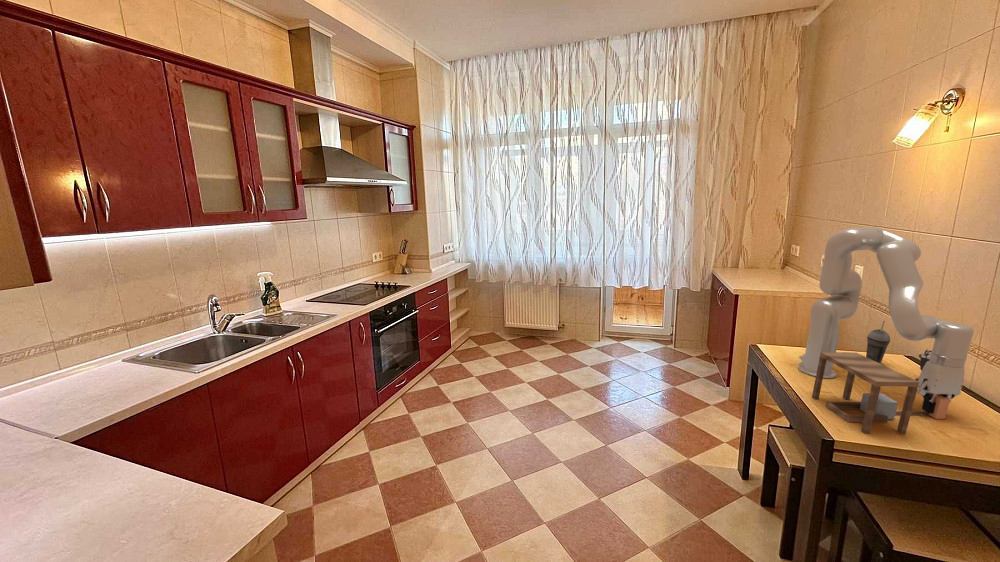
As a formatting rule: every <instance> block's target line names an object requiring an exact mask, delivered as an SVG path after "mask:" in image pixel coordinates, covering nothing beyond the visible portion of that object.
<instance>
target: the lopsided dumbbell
mask: <svg viewBox="0 0 1000 562" xmlns="http://www.w3.org/2000/svg"><path fill="white" fill-rule="evenodd" d="M869 394H870V392H865V393H864V392H863V393H862V396H861V401H860V402H861V405H860V409H859V410H860V411H861V412H864V413H865V412H866V407H867V403H868V399H869ZM929 395H930V396H931V395H932V394H930V393H929ZM923 402H924V398H923V397H922V402H921V406H920V411H916V410H915V411H913V410H912V412H911V415H928V416H930V417H931V418H933V419H936V420H940V419H943V420H944V419H945V420H946V417H947V412H948V408H949V407H950V403H951V402H950V399H948V398H946V397H944V396H942V395H940V394H937V396H936V399H935V401H934V402H935V403H936V405H935V409H934V412H933V414H930V413H929V412H927V411H925V410H923V409H922V406H923ZM949 402H950V403H949ZM898 404H899V402H898V401H896V400H894V399H893V398H891V397H888V396H887V395H885V394H883V393H880V392H879V396H878V400H877V404H876V409H875V413H874V415H886V416H887V417H888V420H894V419H895V415H898V414H899V415H901V413H902V410H898V411H897V408H898Z"/></svg>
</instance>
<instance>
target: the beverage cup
mask: <svg viewBox="0 0 1000 562" xmlns="http://www.w3.org/2000/svg"><path fill="white" fill-rule="evenodd" d="M885 322H886V321H885V320H883V321H882V323H881V327H880V329H873V330H871V331H870V332H869V333H868V334H867V337H866V342H867V344H866V355H865V357H867V358H869V359H871V360H873V361H875V362H878V363H880V364H882V362H883V359H884V356H885V354H886V350H887V348H888V346H889V344H890V342H891V336H890V334H889V333H888V332H887V331H885V330H883V328H884V326H885Z"/></svg>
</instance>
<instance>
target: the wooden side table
mask: <svg viewBox="0 0 1000 562" xmlns="http://www.w3.org/2000/svg"><path fill="white" fill-rule="evenodd" d="M826 360H828V361H830V362H831V363H833V364H834V365H835V366H837V367H839V368H841V369H843V370H844V371H846V372H847V376H846V381H845V384H844V388H843V393H842V399H844V400H846V401H826V402H825V405H824V406H825V408H827V410H829V411H831V412H832V413H833V414H834V415H836V416H838V417H839V418H841V419H842V420H844V421H846V422H847V423H862V425H861V429H860V431H861V433H863V434H864V435H865V434H866V435H870V434H871V430H872V425H873V423H888V420H889V419H888V417H887V416H886V415H874V413H875V409H876V404H877V400H878V396H879V393H880V391H881V387H899V388H900V387H907V388H906V393H905V394H906V395H905V398H904V401H903V406H902V410H901V411H902V413H901V414H900V416H899V421H898V426H897V429H896V432H897V433H898V432H899V433H898V434H900V435H906V434H907V431H908V426H909V422H910V419H911V415H912V414H911V412H912V411H913V407H914V403H915V400H916V396H917V389H918V386H919V382H918V381H916V379H913V378H911V377H909V376H907V375H906V374H903V373H901V372H898V371H897V370H895V369H892V368H891V367H888V366H886V365H884V364H882V363H881V364H880V363H878V362H875V361H873V360H871V359H869V358H867V357H866V355H862V354H860V353H858V352H849V351H847V352H843V351H842V352H840V351H839V352H838V351H836V352H820V358H819V363H818V368H817V373H816V377H815V379H814V384H813V390H812V395H811V398H812V399H813V400H819V398H820V394H821V389H822V384H823V380H824V378H823V375H824V370H825V365H826ZM855 377H858V378H859V379H862V380H863V381H865V382H867V383H869V384H871V385H870V391H869V393H870V394H869V399H868V403H867V407H866V412H864V414H848V413H847V412H845V411H843V410H845V409H848V410H853V409H854V410H860V405H861V401H850V399H851V396H852V391H853V387H854V381H855ZM848 400H849V401H848Z"/></svg>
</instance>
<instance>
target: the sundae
mask: <svg viewBox="0 0 1000 562" xmlns="http://www.w3.org/2000/svg"><path fill="white" fill-rule="evenodd" d="M931 353H932V350H928V349H926V350H924V353H923V354H922V353H921V354H918V357H919V358H920V360H919V361H920V363H919V365H920V366H919V367H920V370H921V371H922V369H923V367H924V365H925V364H926V362H927V361H929V360H930V356H931ZM921 371H920V372H921ZM918 379H919V377H918V378H915V380H916V381H918Z"/></svg>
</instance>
